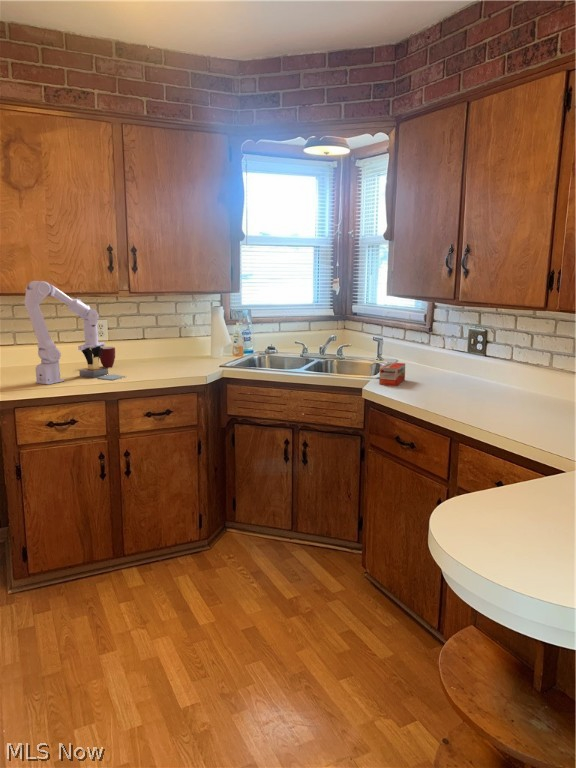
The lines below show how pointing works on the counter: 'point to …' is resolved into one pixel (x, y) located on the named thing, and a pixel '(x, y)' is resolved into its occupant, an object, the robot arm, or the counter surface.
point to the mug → (107, 356)
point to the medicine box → (392, 374)
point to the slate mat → (110, 377)
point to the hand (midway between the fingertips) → (93, 363)
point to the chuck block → (93, 373)
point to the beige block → (94, 364)
